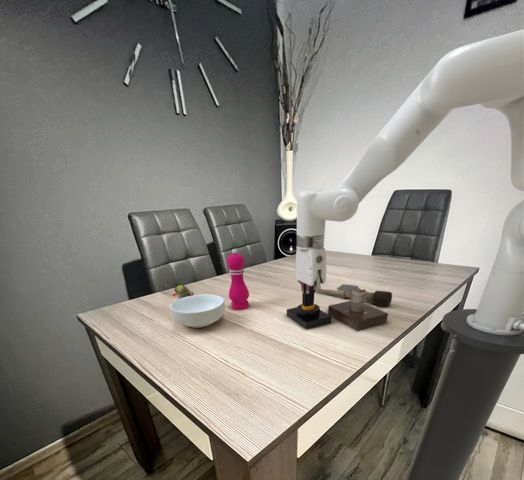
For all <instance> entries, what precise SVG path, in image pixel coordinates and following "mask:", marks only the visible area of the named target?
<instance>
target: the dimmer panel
mask: <svg viewBox="0 0 524 480" xmlns="http://www.w3.org/2000/svg"><path fill="white" fill-rule="evenodd" d="M327 314H328V315H330V316H332V318H333V319H334V320H337V321H339V322H340V323H342V324H344V325H346V326H348V327H349V328H351V329H353V330H355V331H356V332H358V331H361V330H365V329H369V328H372V327H377V326H379V325H383V324H387V322H388V316H389V313H388V312H386V311H384V310H381V309H379V308H377V307H375V306H372V305H370V304H367V303H366V304H365V310H364V311H362V312H354V311H351V310H350V300H347V301H344V302H338V303H335V304H330V305H328V307H327Z"/></svg>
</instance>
